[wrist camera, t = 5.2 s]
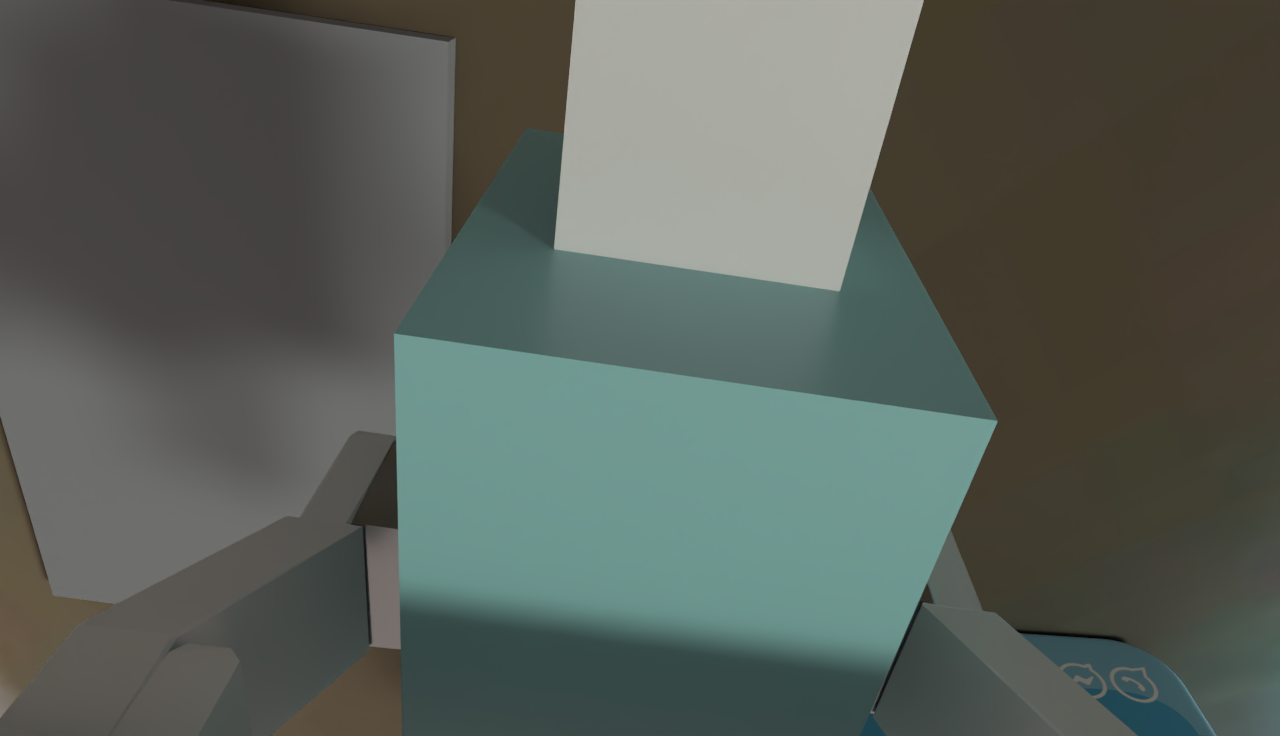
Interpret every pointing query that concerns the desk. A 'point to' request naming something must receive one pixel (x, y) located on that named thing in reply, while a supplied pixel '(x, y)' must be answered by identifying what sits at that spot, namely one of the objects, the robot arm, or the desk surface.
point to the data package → (1119, 685)
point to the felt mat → (203, 265)
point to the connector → (680, 395)
